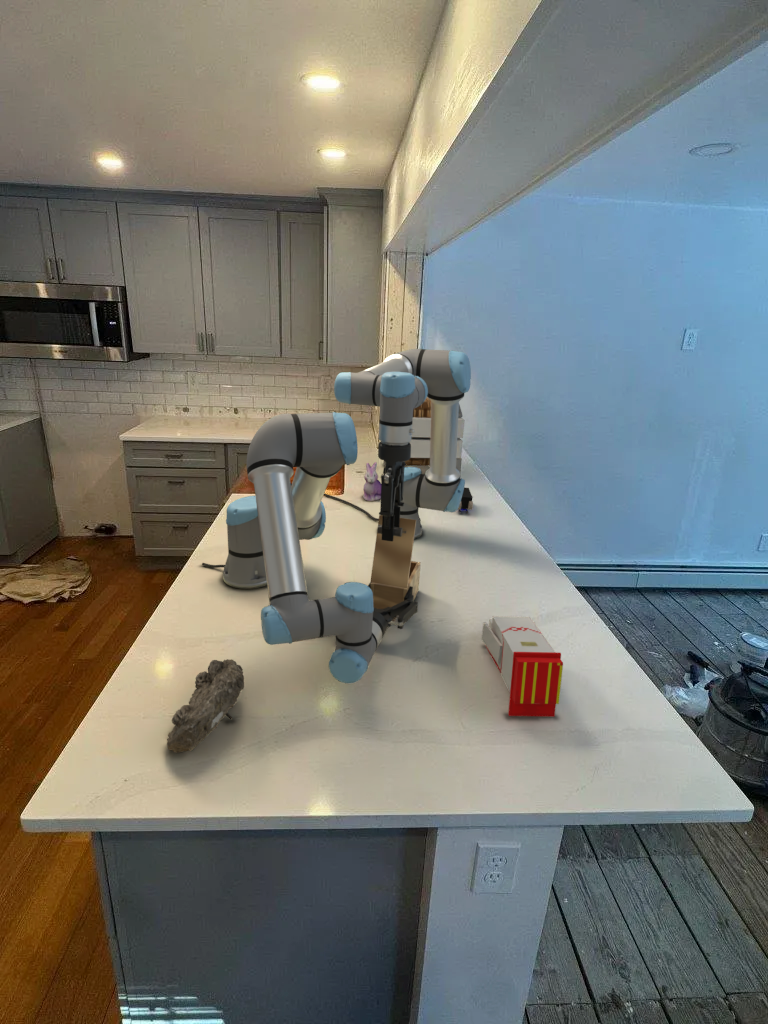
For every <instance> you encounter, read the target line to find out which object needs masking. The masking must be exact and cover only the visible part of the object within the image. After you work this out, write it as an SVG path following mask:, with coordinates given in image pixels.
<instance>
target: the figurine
mask: <svg viewBox="0 0 768 1024" xmlns="http://www.w3.org/2000/svg"><path fill="white" fill-rule="evenodd" d="M365 464H366V465H365V466H366V467H365V470H366V471H365V474H364V475H363V476H364V480H365V483H364V485H363V495H362V498H363V500H364V501H368V502H373V501H378V500H381V480H379V475H378V473H377V468H378V462H377V461H375V462H374V463H373V464H372V465H370V463H369V462H366V463H365Z"/></svg>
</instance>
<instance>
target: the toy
mask: <svg viewBox="0 0 768 1024" xmlns="http://www.w3.org/2000/svg"><path fill="white" fill-rule="evenodd" d="M481 632H482V633H481V640H482V642H483V644H484V646H485V648H486V650H487V652H488V654H489V655H490V657H491V659H492V661H493V663H494V664H495V666H496V668H497V670H498V671H499V674H500V676H501V678H502V680H503V682H504V684H505V687H506V688H507V690H508V692H509V700H508V702H509V703H508V710H507V711H508V712H507V715H508V717H551V718H552V717H553V718H555V716H556V707H557V705H559V704H560V698H561V697H560V695H561V688H562V687H561V686H562V678H563V669H564V662H563V661H562V653H561V652H556V651H555V649H554V648H553V647H552V645H551V644H550V643H549V641H548V639H547V638H546V637H545V635H544V634H543V633H542V631H541V630H540V629H539V628H538V626H537V624H536V622H535V621H534V620H533V619H532V617H531V616H514V615H513V616H512V615H511V616H508V615H507V616H506V615H505V616H504V615H492V618H489V620H488V623H487V621H483V623H482V631H481Z"/></svg>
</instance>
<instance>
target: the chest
mask: <svg viewBox="0 0 768 1024" xmlns="http://www.w3.org/2000/svg"><path fill="white" fill-rule="evenodd" d="M420 575H421V562H420V561H415V560H411V565H410V573H409V580H408V587H407V588H403V587H397V586H391V585H385V584H379V583H373V582H371V590H372V593H373V607H374V608H377V609H384V608H386V607H392V606H394V605H396V604H398V603H401V602H403V601H404V597H405V595H406V593H407V591H408V589H409V587H410V586H412V587H413V592H412V595H414V600H415V599H416V598H417V597H416V596H417V595H418V592H419V591H420V577H421V576H420ZM395 618H396V617H395ZM395 618H394V619H395Z"/></svg>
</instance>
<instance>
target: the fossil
mask: <svg viewBox="0 0 768 1024" xmlns="http://www.w3.org/2000/svg"><path fill="white" fill-rule="evenodd" d="M243 670H244V669H243V667H242V665H240V664H237V662H236V661H235V660H234V659H232V658H231V659H227V658H226V659H224V660H223V661H222V660H217V659H212V660H211V661H210V663H209V665H208V666H207V671H201V672H199V673H198V674H197V675H196V676H195V680H194V684H195V685H194V687H195V689H194V690H193V693H192V694H191V697H190V698H189V700H188V704H184V705H182V706H181V707H180V709H177V710H176V711H175V713H174V715H173V716H172V718H171V723H172V724H173V727H172V730H171V731H170V732H168V734H167V738H166V741H167V742H166V745H167V749H168V750H169V751H173V752H174V753H176V754H178V753H182V752H188V751H189V752H192V751H193V750H195V748H196V747H197V746H199V744H200V743H201V742H203V741H204V740H205V739H206V738H207V737H208V736H209V735H210V734H211V733H212V732H214V730H215V729H217V727H218V726H219V724H220V722H221V721H222V720H223V719H224V718H225V716H226V717H227V719H229V720H233V717H232V715H230V714H229V710H230V709H231V708H234V706H235V704H236V703H237V702H238V699H239V697H240V695H241V693H242V691H243V690H245V689H244V688H245V675H244V671H243Z"/></svg>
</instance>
